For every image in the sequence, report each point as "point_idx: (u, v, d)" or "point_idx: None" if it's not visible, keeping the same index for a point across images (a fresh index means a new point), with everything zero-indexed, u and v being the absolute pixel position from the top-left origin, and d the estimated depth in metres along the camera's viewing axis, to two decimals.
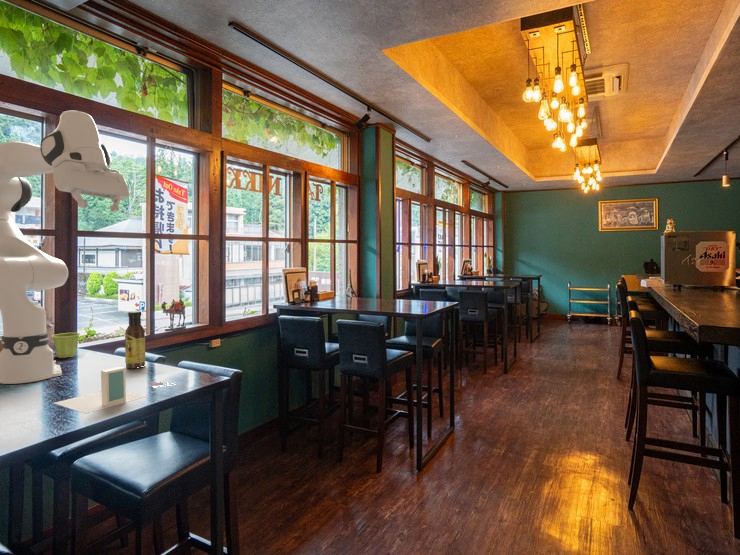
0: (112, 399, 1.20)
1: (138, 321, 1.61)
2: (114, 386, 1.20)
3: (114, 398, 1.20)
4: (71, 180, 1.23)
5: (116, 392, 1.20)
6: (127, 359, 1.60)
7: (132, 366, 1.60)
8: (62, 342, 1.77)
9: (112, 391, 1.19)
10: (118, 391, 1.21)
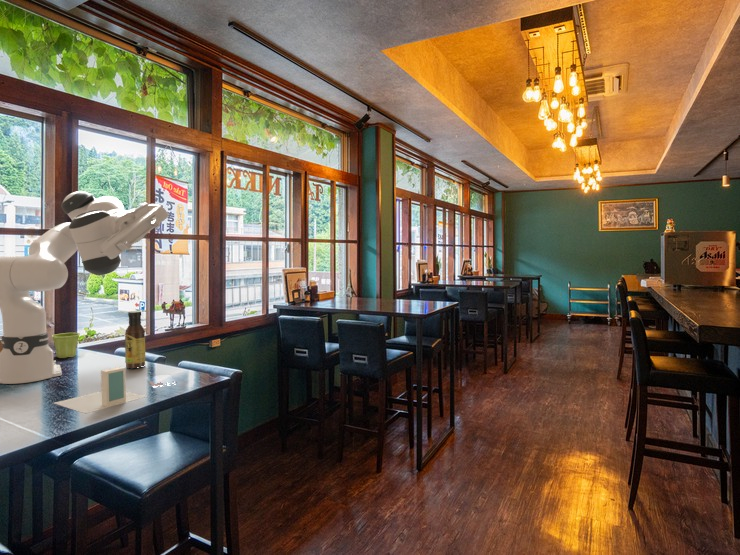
0: (112, 399, 1.20)
1: (138, 321, 1.61)
2: (114, 386, 1.20)
3: (114, 398, 1.20)
4: None
5: (116, 392, 1.20)
6: (127, 359, 1.60)
7: (132, 366, 1.60)
8: (62, 342, 1.77)
9: (112, 391, 1.19)
10: (118, 391, 1.21)
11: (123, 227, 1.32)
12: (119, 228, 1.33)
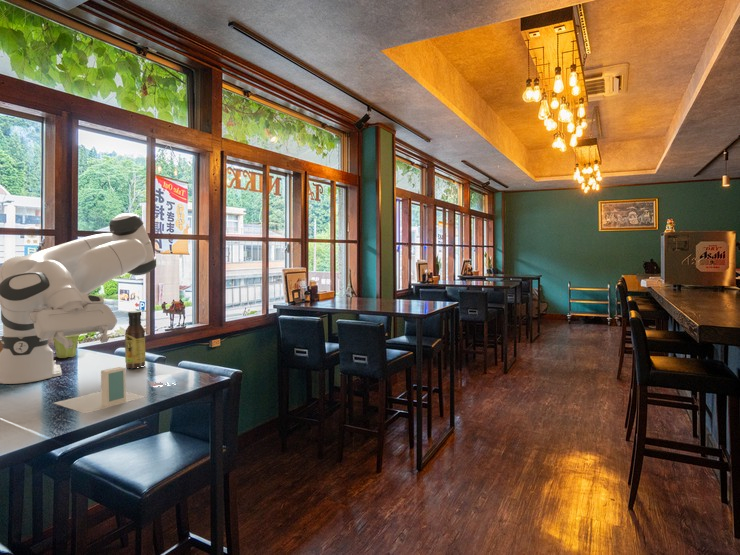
0: (112, 399, 1.20)
1: (138, 321, 1.61)
2: (114, 386, 1.20)
3: (114, 398, 1.20)
4: None
5: (116, 392, 1.20)
6: (127, 359, 1.60)
7: (132, 366, 1.60)
8: None
9: (112, 391, 1.19)
10: (118, 391, 1.21)
11: (70, 311, 1.28)
12: (65, 308, 1.28)
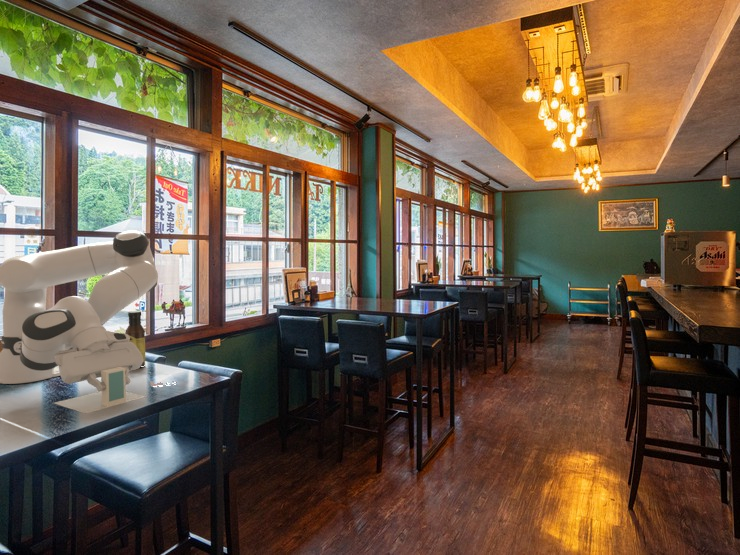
0: (112, 399, 1.20)
1: (138, 321, 1.61)
2: (114, 386, 1.20)
3: (114, 398, 1.20)
4: None
5: (116, 392, 1.20)
6: None
7: None
8: None
9: (112, 391, 1.19)
10: (118, 391, 1.21)
11: (96, 352, 1.22)
12: (91, 349, 1.22)
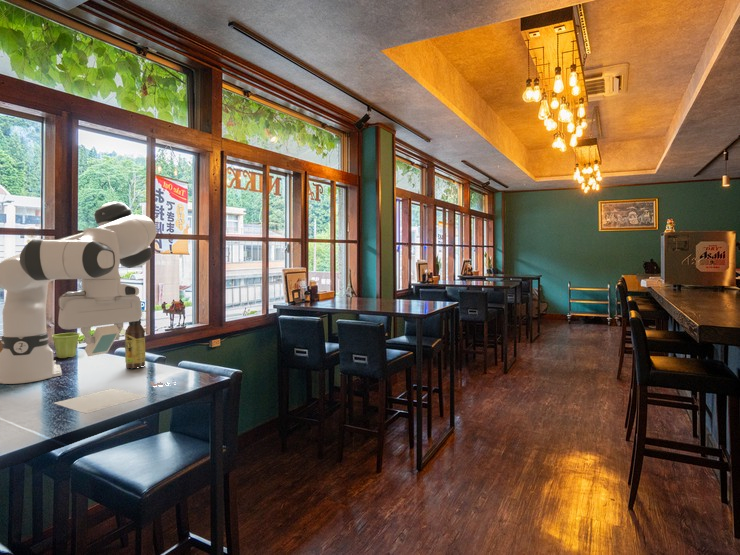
0: (96, 351, 1.23)
1: (138, 321, 1.61)
2: (102, 344, 1.22)
3: (98, 351, 1.23)
4: None
5: (102, 347, 1.23)
6: (127, 359, 1.60)
7: (132, 366, 1.60)
8: (62, 342, 1.77)
9: (98, 346, 1.22)
10: (104, 346, 1.23)
11: (100, 303, 1.20)
12: (97, 300, 1.19)
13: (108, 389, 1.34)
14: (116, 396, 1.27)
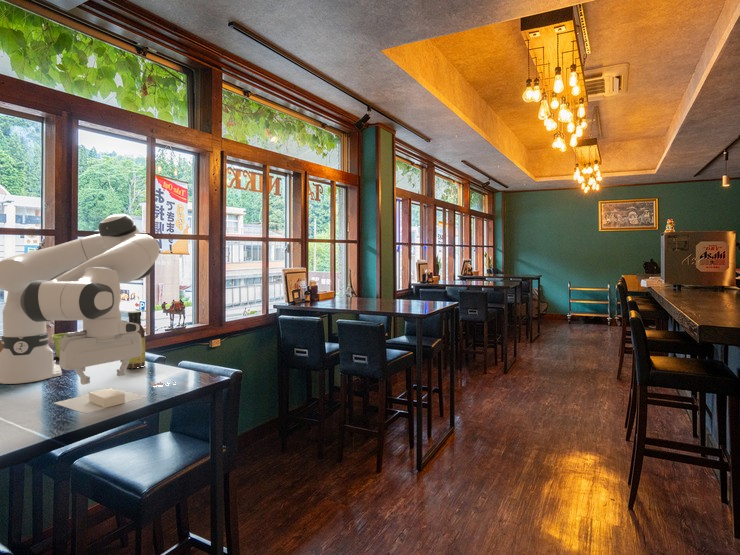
0: None
1: (138, 321, 1.61)
2: None
3: None
4: None
5: None
6: None
7: (132, 366, 1.60)
8: None
9: None
10: None
11: (101, 342, 1.20)
12: (98, 339, 1.19)
13: None
14: None
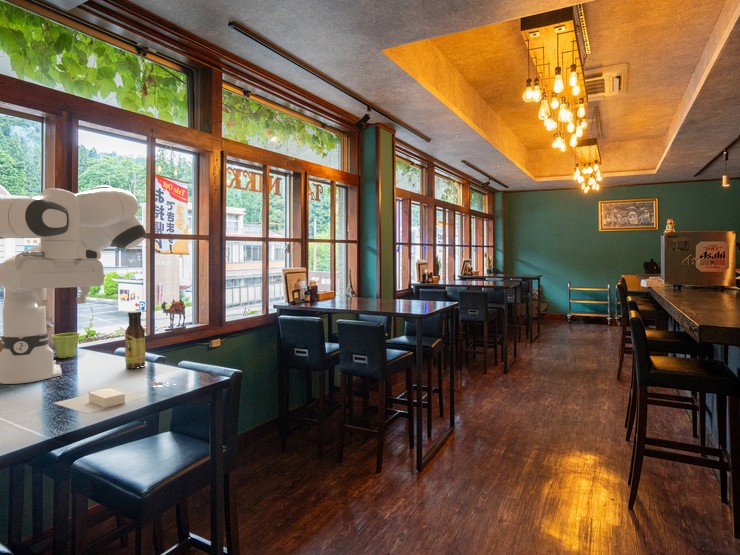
0: None
1: (138, 321, 1.61)
2: None
3: None
4: None
5: None
6: (127, 359, 1.60)
7: (132, 366, 1.60)
8: (62, 342, 1.77)
9: None
10: None
11: (59, 265, 1.19)
12: (56, 262, 1.18)
13: None
14: None
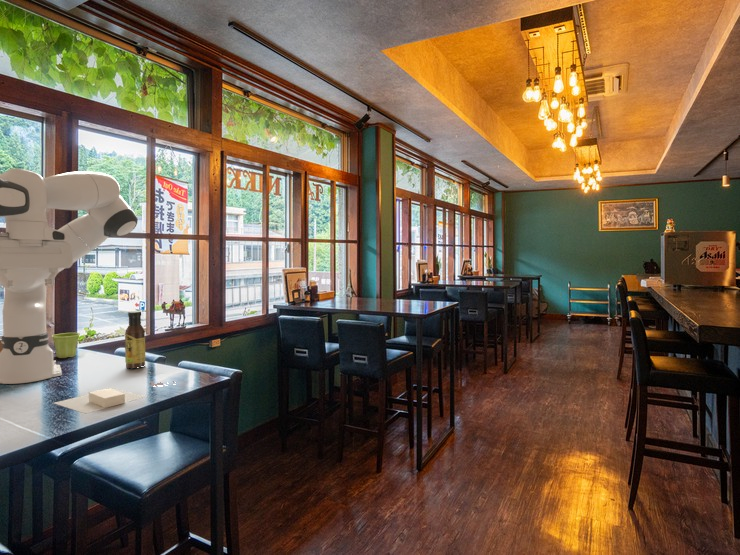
0: None
1: (138, 321, 1.61)
2: None
3: None
4: None
5: None
6: (127, 359, 1.60)
7: (132, 366, 1.60)
8: (62, 342, 1.77)
9: None
10: None
11: (25, 246, 1.18)
12: (21, 242, 1.17)
13: None
14: None
